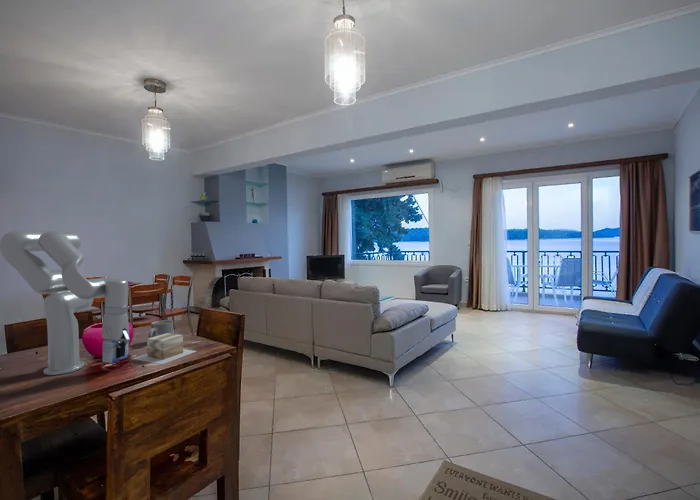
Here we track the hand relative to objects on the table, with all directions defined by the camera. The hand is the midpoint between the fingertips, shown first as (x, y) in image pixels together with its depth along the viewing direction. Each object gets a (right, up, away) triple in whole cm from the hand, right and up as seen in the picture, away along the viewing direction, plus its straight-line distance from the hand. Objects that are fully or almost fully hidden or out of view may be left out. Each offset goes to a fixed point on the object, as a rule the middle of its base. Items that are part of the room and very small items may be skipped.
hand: (115, 355), depth 138 cm
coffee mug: (-3, -5, +38) cm, 38 cm away
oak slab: (+12, -4, +15) cm, 20 cm away
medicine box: (0, -2, 0) cm, 2 cm away
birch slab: (+12, 0, +15) cm, 19 cm away
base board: (+12, -5, +15) cm, 20 cm away
